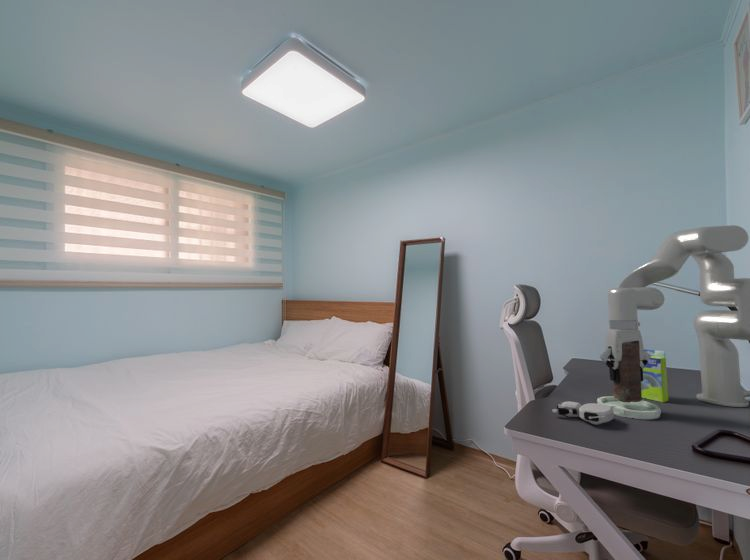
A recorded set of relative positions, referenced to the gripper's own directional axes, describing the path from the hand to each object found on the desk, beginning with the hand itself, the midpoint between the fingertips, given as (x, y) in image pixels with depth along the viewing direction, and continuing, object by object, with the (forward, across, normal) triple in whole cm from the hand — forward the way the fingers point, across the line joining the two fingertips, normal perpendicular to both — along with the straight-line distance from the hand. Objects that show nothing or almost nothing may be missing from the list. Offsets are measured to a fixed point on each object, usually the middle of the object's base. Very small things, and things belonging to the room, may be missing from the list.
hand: (626, 380), depth 108 cm
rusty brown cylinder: (+7, 0, 0) cm, 7 cm away
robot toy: (+10, +19, +6) cm, 22 cm away
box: (+10, -18, -12) cm, 24 cm away
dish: (+10, 0, 0) cm, 10 cm away
